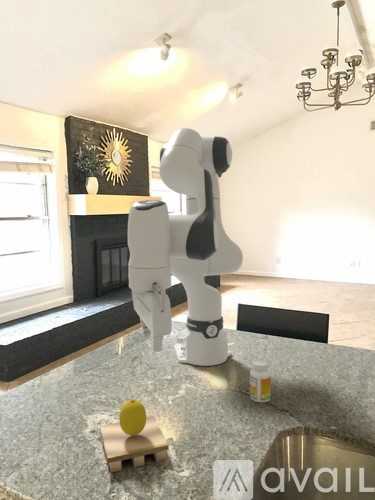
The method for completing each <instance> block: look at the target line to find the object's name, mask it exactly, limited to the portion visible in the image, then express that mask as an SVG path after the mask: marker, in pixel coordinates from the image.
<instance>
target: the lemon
mask: <svg viewBox="0 0 375 500" xmlns="http://www.w3.org/2000/svg"><path fill="white" fill-rule="evenodd" d="M118 417H119V419H118V421H119V422H120V426H121V429H122V430H123V431H124V432H125V433H126V434H128V435H131V436H133V437H134V436H135V435H137V434H139V433H140V432H141V431H142V430H143V429H144V427H145V424H146V417H147V410H146V408H145V405H144V404H143V403H142V402H141V401H139V400H137V399H134V398H131V399H130V400H127V401H126V402H124V404H122V406H121V408H120V412H119V416H118Z"/></svg>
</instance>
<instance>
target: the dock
mask: <svg viewBox="0 0 375 500" xmlns="http://www.w3.org/2000/svg"><path fill="white" fill-rule="evenodd" d="M99 432H100V435H101V439H102V443H103V448H104V452H105V456H106V461H107V464H108V465H109V469H110V473H114V472H115V473H116V472H120V471H122V461H125V460H129V459H130V460H131V461H132V465H133V467H134V468H136V467H141V466H145V456H147V455H148V456H149V455H151V454H152V455H153V457H154V459H155V461H156V463H158V462H163V461H167V451H169V449H170V448H169V443H168V441H167V440H166V438H165V435H164V434H163V431H162V430H161V428H160V425H159V423H158V422H157V420H156V418H155V416H154V415H148V416H146V424H145V427H144V429H143V430H142V431H141V432H140V433H139V434H137V435H135V436H134V437H133V436H131V435H128V434H126V433H125V432H124V431H123V430H122V429H121V426H120V421H119V422H113V423H109V424H103V425H100V426H99Z"/></svg>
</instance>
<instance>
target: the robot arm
mask: <svg viewBox="0 0 375 500" xmlns="http://www.w3.org/2000/svg"><path fill="white" fill-rule="evenodd" d="M232 160H233V151H232V147H231V144H230V142H229V140H228V139H227V138H226V137H223V136H214V137H210V136H207V137H206V136H204V137H203V136H201V134H200V133H199V132H198V131H196V130H194V129H193V128H189V127H187V128H185V127H184V128H180V129H178V130H176V131H175V132H174V133H173V134H172V136H171V137H170V139H169V140H168V142H166V143H164V144H163V146H162V147H161V148H160V151H159V167H158V168H159V175H160V178H161V180H162V182H163V184H164V185H165V186H166V187H167V188H168V189H170V190H171V191H173V192H175V193H178V194H181V195H185V205H186V206H185V207H186V209H185V211H186V215H185V214H184V215H183V214H179V215H178V214H171V215H170V214H169V210H168V205H167V202H165V201H163V200H158V199H146V200H139V201H136V202H134V203H133V204H131V205H130V208H129V211H128V220H127V247H128V250H129V260H128V271H127V272H128V273H127V278H128V288H129V289H130V290H131V297H132V298H131V299H132V304H133V310H134V311H135V312H136V313H137V315H138V316H139V320H140V325H141V334H142V335H143V337H150V336H152V340H151V349H152V350H153V352H154V353H157V352H162V350H163V341H164V336H167V335H169V336H170V335H171V333H172V329H173V328H172V323H173V322H172V309H171V301H170V297H169V296H168V294H167V293H166V290H167V289H168V290H169V288H171V287H172V276H173V277H175V278H176V279H177V280H178V281H179V282H180V283H181V284H182V286H183V288H184V290H185V293H186V297H187V307H188V308H187V309H188V310H187V311H188V315H187V317H186V325H185V328H184V329H183V330H182V331H181V332H180V336H177V340H176V341H177V343H175V344H174V347H173V349H174V352H175V355H176V357H177V362H178V363H182V364H189V365H195V366H200V367H201V366H202V367H204V366H205V367H206V366H207V367H209V366H216V365H220V364H223V363H224V362H226V361H227V359H228V358H229V357H230V356H232V351H231V350H229V348H228V347H229V346H228V335H227V331H226V329H224V317H223V316H222V315H223V313H222V312H223V310H222V306H223V305H222V303H223V301H222V300H223V299H222V295H221V293H220V291H219V289H217V288H216V287H213V286H211V285H209V284H207V283H206V282H205V277H206V276H223V275H228V274H229V275H230V274H232V273H235V272H238V271H239V270H240V268H242V264H243V261H244V259H243V258H244V257H243V252H242V249H241V247H240V246H239V245H238V244H237V243H235V242H234V241H233V240H232V239H231V238H230V237H229V235H228V234H227V233H226V230H225V228H224V225H223V223H222V222H223V221H222V212H221V211H222V210H221V194H220V192H221V191H220V183H219V178H221V177H222V176H223V174H224V173H226V172H227V171H228V170H229V168H230V167H231V164H232Z"/></svg>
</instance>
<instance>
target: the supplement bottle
mask: <svg viewBox="0 0 375 500" xmlns="http://www.w3.org/2000/svg"><path fill="white" fill-rule="evenodd" d="M271 379H272V375H271V371H270V370H269V362H268V361H267V360H263V359H256V360H255V359H254V360H253V361H252V368H251V369H250V372H249V398H250V399H251V400H252V401H253V402H255V403H256V402H257V403H267V402H269V401H271V396H272V395H271V394H272V393H271V392H272V389H271V387H272V385H271V383H272V381H271Z"/></svg>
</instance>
